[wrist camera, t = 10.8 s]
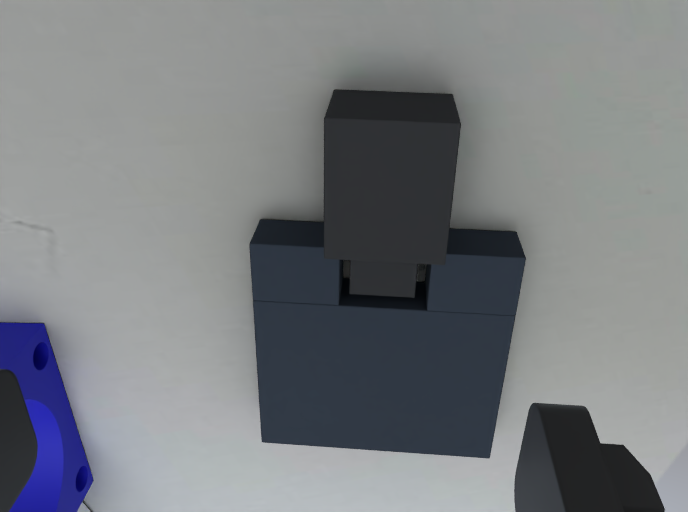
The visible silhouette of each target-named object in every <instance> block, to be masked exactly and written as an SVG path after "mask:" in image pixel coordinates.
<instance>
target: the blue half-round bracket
mask: <svg viewBox="0 0 688 512" xmlns="http://www.w3.org/2000/svg"><path fill="white" fill-rule="evenodd" d="M0 369H7V370H10V371H12V372H13V373H14V374H15V375H16V377H17V379H18V382H19V385H20V388H21V391H22V394H23V397H24V400H25V403H26V407H27V410H28V413H29V416H30V419H31V422H32V425H33V428H34V431H35V434H36V438H37V444H38V451H37V459H36V463H35V467H34V470H33V472H32V475H31V477H30V479H29V480H28V482H27V484H26V485H25V487H24V488H23V490H22V492H21V493H20V495H19V496H18V498H17V500H16V501H15V503H14V504H13V506H12V508H11V509H10V511H9V512H77V511H78V509H79V507H80V505H81V503H82V501H83V499H84V498H85V496H86V494H87V492H88V490H89V488H90V486H91V484H92V482H93V481H94V480H93V477H92V474H91V471H90V468H89V465H88V461H87V458H86V455H85V452H84V449H83V446H82V442H81V439H80V436H79V433H78V430H77V427H76V423H75V420H74V417H73V414H72V411H71V408H70V404H69V401H68V398H67V395H66V392H65V389H64V385H63V382H62V379H61V376H60V373H59V370H58V366H57V363H56V360H55V357H54V354H53V351H52V347H51V344H50V341H49V338H48V335H47V332H46V328H45V325H44V323H0Z"/></svg>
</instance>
